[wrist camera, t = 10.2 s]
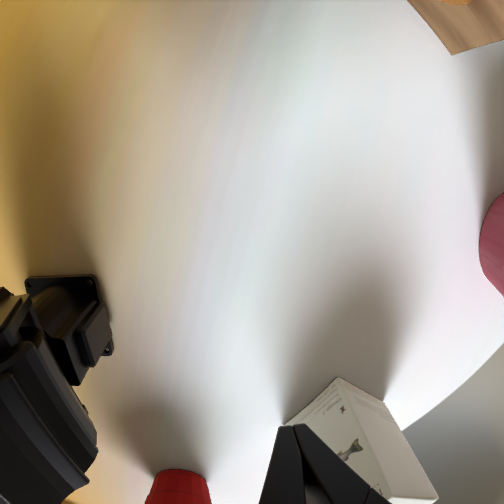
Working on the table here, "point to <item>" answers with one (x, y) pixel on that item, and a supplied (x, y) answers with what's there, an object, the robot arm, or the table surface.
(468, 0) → the shaft
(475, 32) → the block
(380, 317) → the table surface
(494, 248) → the plant pot
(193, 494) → the plastic cup
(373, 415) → the supplement box
